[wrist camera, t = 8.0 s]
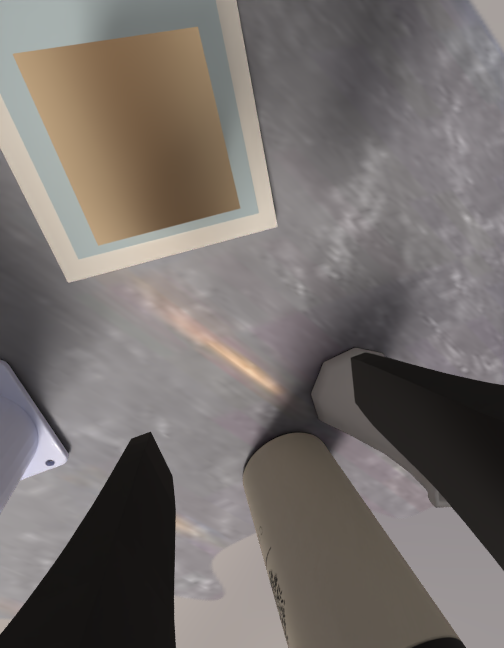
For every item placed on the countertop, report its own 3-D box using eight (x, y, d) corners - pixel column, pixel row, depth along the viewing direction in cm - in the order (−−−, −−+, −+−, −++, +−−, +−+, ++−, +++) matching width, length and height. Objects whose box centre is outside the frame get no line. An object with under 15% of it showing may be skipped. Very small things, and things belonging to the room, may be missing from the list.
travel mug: (330, 422, 24) (653, 826, 8) (321, 489, 27) (551, 893, 11) (241, 439, 22) (432, 1023, 6) (242, 510, 25) (376, 1046, 9)
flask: (311, 351, 21) (415, 445, 12) (390, 340, 23) (532, 415, 14) (307, 427, 24) (390, 552, 15) (378, 412, 26) (492, 515, 17)
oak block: (124, 237, 15) (98, 245, 9) (80, 126, 13) (12, 53, 7) (215, 213, 15) (240, 208, 10) (186, 106, 14) (197, 26, 8)
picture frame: (73, 280, 15) (67, 283, 15) (-74, -16, 11) (-94, -36, 10) (273, 226, 17) (278, 226, 17) (222, -43, 13) (225, -61, 12)
